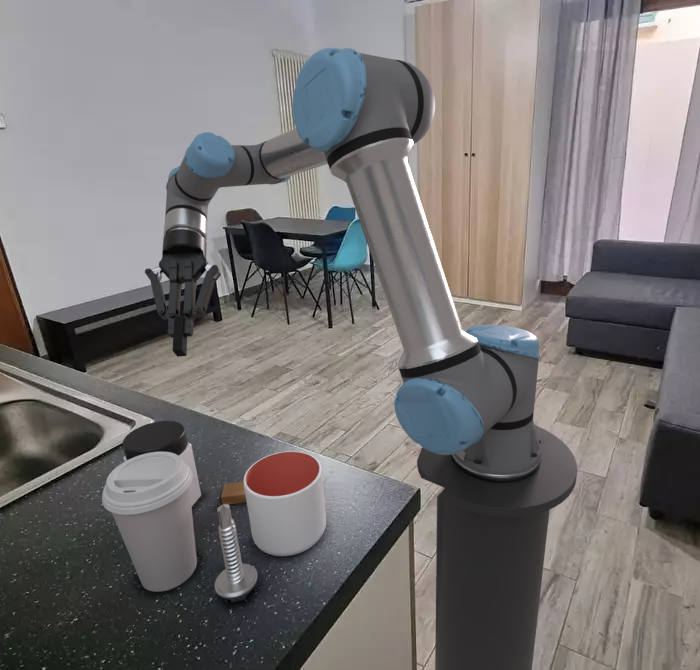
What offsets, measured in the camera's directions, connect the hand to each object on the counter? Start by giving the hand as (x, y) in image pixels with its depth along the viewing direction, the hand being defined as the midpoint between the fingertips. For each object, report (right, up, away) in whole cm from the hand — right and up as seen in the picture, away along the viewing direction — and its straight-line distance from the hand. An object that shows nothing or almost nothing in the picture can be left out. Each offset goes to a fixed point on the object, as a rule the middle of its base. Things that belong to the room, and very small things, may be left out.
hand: (179, 353), depth 82 cm
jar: (+3, -23, -9) cm, 25 cm away
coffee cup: (+8, -27, -21) cm, 35 cm away
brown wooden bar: (+17, -21, -7) cm, 28 cm away
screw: (+18, -28, -24) cm, 41 cm away
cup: (+22, -24, -15) cm, 37 cm away
